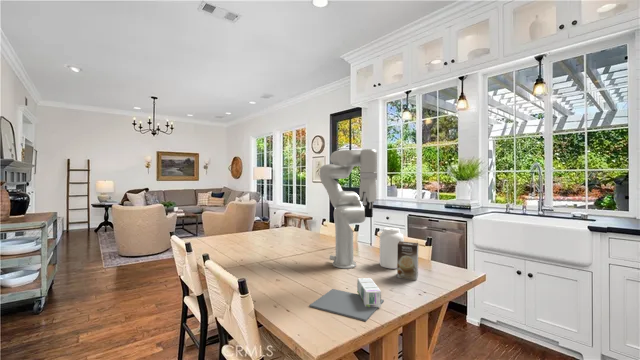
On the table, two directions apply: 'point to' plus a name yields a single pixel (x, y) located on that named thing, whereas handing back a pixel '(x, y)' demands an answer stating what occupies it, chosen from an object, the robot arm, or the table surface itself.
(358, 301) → the mat
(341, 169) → the robot arm
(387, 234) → the white bottle
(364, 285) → the syrup box
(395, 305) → the table surface
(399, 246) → the coffee box
